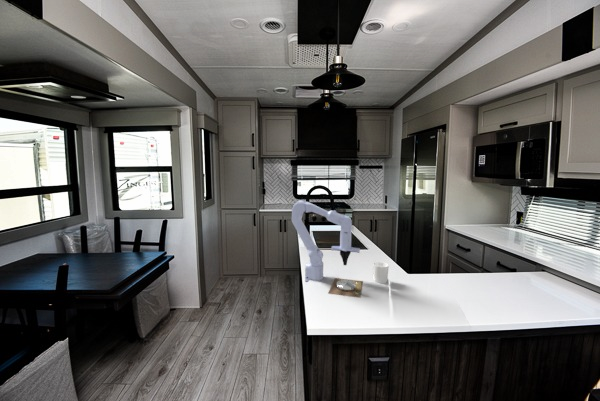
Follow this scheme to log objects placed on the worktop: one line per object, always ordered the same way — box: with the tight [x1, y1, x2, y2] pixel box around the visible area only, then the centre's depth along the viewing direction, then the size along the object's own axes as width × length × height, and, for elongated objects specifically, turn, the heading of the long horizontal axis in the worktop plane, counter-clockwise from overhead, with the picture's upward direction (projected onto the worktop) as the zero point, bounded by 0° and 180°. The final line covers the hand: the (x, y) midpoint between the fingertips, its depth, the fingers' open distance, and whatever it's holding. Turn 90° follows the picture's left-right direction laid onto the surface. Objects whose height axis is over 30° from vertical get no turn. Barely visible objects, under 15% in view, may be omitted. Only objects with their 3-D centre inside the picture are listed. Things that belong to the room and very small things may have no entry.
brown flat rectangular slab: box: [327, 277, 364, 299], centre depth 137 cm, size 15×19×2 cm
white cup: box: [372, 261, 390, 284], centre depth 145 cm, size 8×8×10 cm
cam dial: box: [336, 279, 362, 292], centre depth 135 cm, size 15×10×5 cm
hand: (345, 264), depth 145 cm, fingers closed
